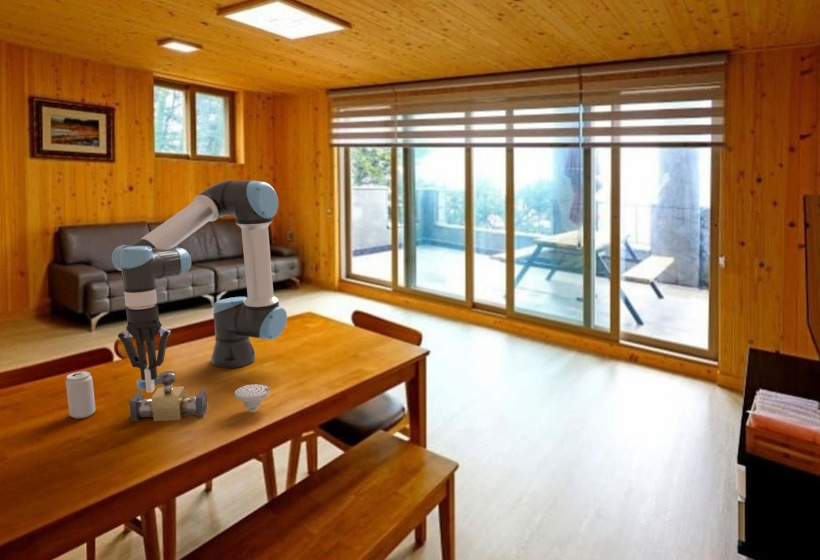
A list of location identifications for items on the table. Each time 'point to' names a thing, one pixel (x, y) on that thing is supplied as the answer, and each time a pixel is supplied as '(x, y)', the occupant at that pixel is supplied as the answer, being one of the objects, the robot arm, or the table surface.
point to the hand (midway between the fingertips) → (150, 390)
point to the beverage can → (80, 395)
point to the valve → (167, 403)
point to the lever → (158, 380)
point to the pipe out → (140, 407)
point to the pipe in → (194, 404)
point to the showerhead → (252, 395)
